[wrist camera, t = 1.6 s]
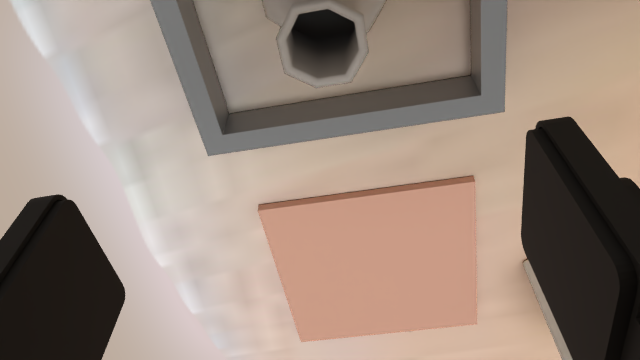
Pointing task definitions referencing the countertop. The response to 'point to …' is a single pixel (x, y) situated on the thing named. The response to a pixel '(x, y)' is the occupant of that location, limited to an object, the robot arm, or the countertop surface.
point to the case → (337, 112)
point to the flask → (323, 37)
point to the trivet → (377, 259)
